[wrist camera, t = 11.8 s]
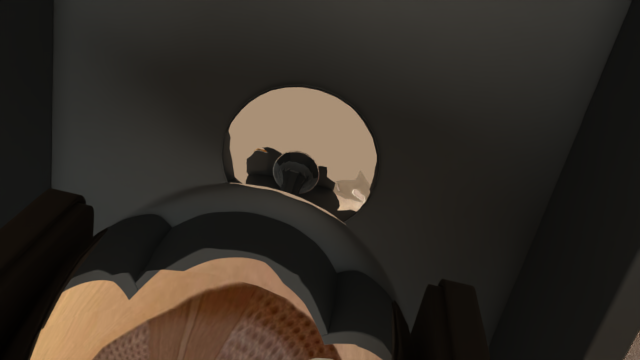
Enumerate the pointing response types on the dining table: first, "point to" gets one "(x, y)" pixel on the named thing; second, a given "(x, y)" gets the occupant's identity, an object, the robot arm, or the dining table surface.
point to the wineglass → (238, 255)
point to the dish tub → (388, 126)
